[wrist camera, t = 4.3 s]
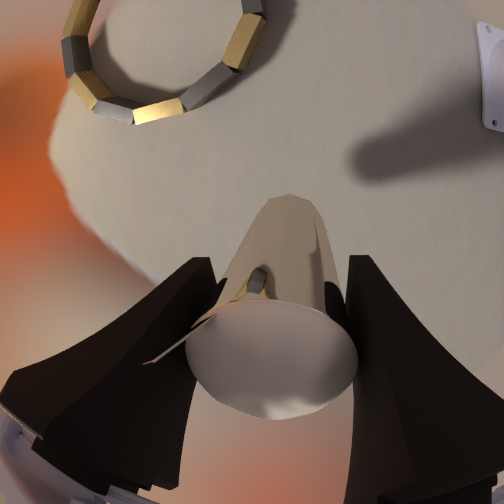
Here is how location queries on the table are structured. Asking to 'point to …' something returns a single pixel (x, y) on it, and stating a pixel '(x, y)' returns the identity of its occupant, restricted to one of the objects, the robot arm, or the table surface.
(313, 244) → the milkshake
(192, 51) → the table surface
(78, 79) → the ring
